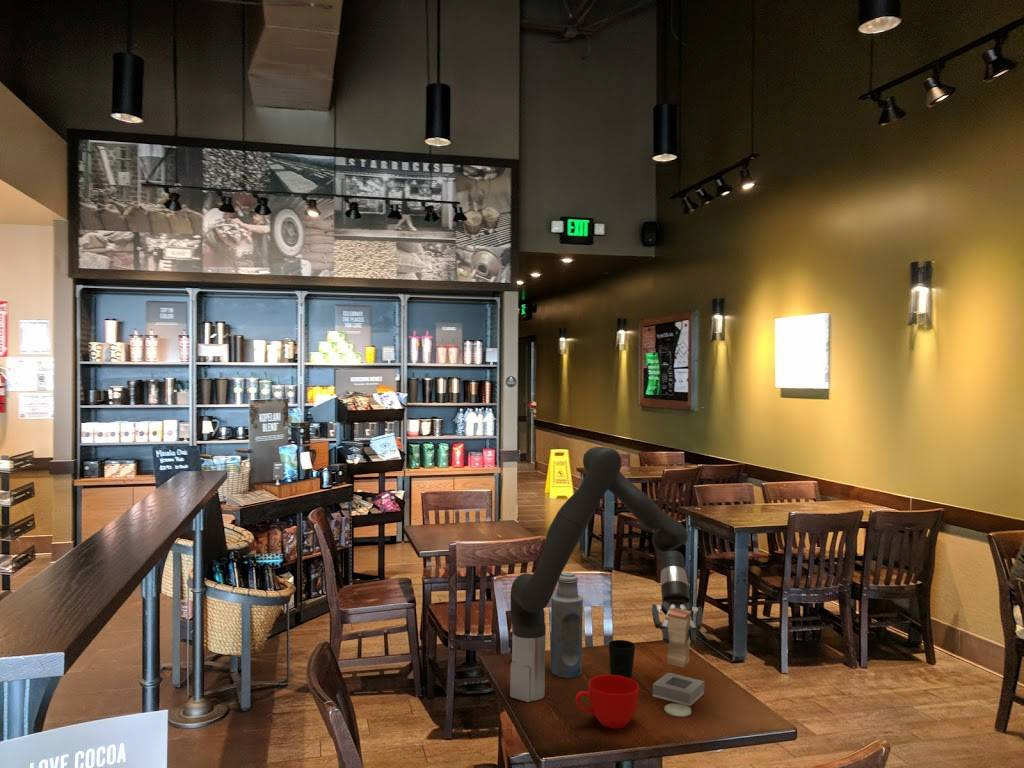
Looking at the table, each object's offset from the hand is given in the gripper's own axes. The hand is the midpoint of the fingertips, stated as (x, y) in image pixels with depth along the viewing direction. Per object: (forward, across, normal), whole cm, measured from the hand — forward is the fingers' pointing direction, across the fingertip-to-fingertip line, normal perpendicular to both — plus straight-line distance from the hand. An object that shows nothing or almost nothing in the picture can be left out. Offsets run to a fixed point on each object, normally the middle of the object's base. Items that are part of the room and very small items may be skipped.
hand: (679, 642), depth 198 cm
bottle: (-4, -30, +32) cm, 44 cm away
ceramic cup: (+19, -20, +8) cm, 29 cm away
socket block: (+4, +2, +22) cm, 23 cm away
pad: (+12, 0, +14) cm, 19 cm away
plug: (+3, 0, +6) cm, 7 cm away
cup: (+1, -14, +26) cm, 29 cm away
